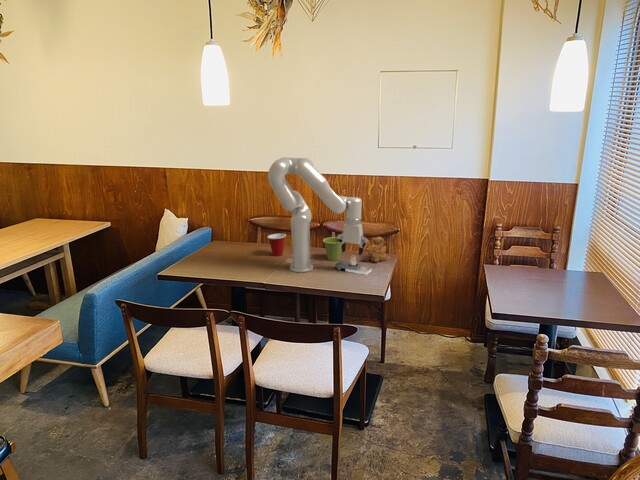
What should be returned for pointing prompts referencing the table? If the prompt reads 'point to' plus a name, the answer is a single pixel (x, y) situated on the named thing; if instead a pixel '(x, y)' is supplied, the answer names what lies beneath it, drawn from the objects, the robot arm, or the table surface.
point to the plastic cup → (277, 243)
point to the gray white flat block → (353, 268)
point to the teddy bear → (377, 250)
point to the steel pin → (353, 260)
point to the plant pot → (333, 248)
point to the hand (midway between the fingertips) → (352, 252)
